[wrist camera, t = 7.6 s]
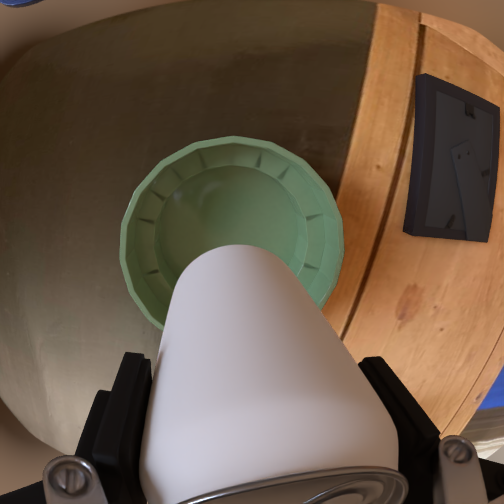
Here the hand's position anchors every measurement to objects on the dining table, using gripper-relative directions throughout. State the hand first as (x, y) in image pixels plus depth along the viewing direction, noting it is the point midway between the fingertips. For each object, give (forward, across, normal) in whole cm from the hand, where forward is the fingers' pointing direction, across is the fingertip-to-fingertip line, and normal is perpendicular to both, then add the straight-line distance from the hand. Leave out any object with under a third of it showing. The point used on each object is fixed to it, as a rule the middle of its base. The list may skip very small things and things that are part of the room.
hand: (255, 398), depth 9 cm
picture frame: (+22, -25, -11) cm, 35 cm away
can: (+7, 0, 0) cm, 7 cm away
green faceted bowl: (+22, 0, 0) cm, 22 cm away
